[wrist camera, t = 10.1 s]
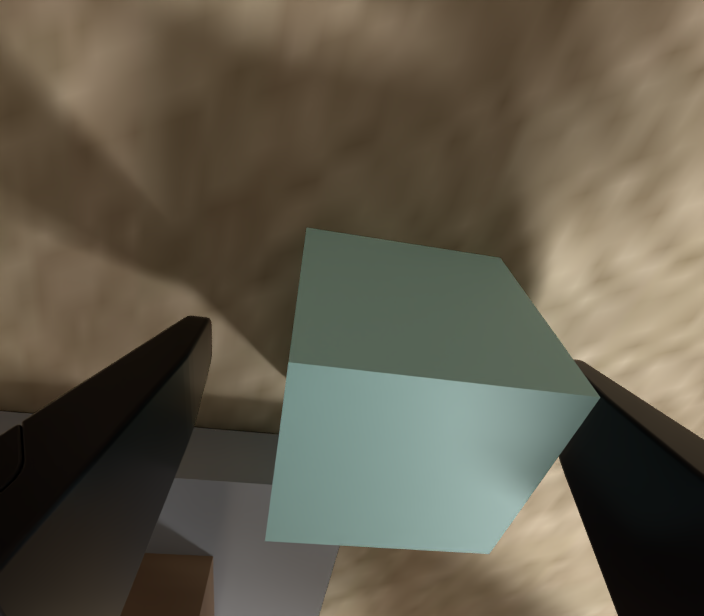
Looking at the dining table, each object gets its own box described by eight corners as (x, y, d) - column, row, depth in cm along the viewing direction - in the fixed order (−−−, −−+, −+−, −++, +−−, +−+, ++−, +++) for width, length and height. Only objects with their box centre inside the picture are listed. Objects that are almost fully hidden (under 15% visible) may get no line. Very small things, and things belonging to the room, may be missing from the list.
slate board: (353, 441, 12) (356, 490, 10) (305, 622, 18) (303, 666, 17) (-137, 399, 10) (-203, 451, 9) (2, 613, 17) (-24, 661, 15)
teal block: (498, 255, 9) (600, 397, 5) (442, 393, 11) (489, 554, 8) (306, 225, 8) (288, 362, 5) (287, 376, 10) (265, 540, 7)
